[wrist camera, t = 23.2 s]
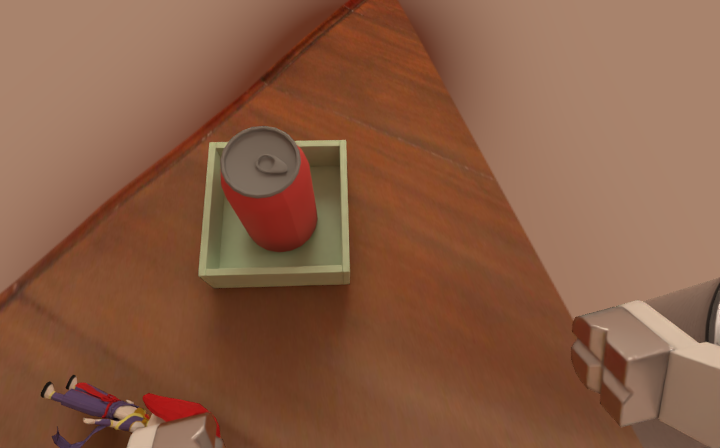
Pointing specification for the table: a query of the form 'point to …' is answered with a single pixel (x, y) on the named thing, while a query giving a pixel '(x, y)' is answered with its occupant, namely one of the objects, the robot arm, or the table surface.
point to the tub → (268, 268)
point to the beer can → (269, 187)
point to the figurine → (118, 409)
